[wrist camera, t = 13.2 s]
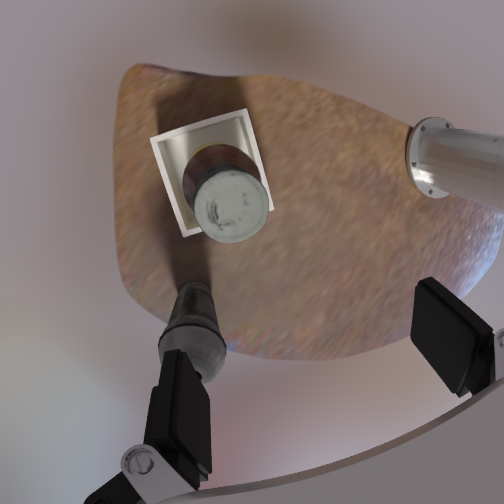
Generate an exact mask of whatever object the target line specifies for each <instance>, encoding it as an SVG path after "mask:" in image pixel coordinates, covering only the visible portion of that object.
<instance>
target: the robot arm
mask: <svg viewBox="0 0 504 504" xmlns="http://www.w3.org/2000/svg"><path fill="white" fill-rule="evenodd" d="M406 162H407V168H408V172H409V175H410V178H411V180H412V182H413V184H414V185H415V187H416V188H417V189H418V190H419V191H420V192H421V193H423V194H424V195H426V196H429V197H432V198H442V197H445V196H447V195H449V194H453V195H456V196H459V197H461V198H464V199H467V200H469V201H472V202H474V203H477V204H480V205H482V206H485V207H487V208H489V209H492V210H494V211H497V212H499V213H501V214H504V135H501V134H495V133H488V132H480V131H472V130H463V129H455V128H454V126H453V125H452V124H451V123H449V122H448V121H446V120H445V119H442V118H439V117H429V118H426V119H423V120H421V121H420V122H419V123H418V124H417V125H416V126H415V127H414V128H413V130H412V132H411V134H410V137H409V140H408V143H407V149H406ZM492 331H493V329H492V328H491V327H490V326H489V325H488V324H487V323H486V322H485V321H484V320H483V319H481V318H480V317H479V316H478V315H477V314H476V313H475V312H474V311H472V310H471V309H470V308H469V307H468V306H467V305H466V304H464V303H463V302H462V301H461V300H460V299H459V298H457V297H456V296H455V295H454V294H453V293H451V292H450V291H449V290H448V289H447V288H445V287H444V286H443V285H442V284H440V283H439V282H438V281H437V280H435V279H434V278H433V277H428V278H425V279H423V280H420V281H419V282H418V285H417V286H416V287H415V297H414V308H413V317H412V326H411V334H410V336H411V340H412V342H413V344H414V345H415V346H416V347H417V348H418V350H419V351H420V352H421V353H422V355H423V356H424V357H425V359H426V360H427V361H428V362H429V364H430V365H431V366H432V367H433V369H434V370H435V371H436V373H437V374H438V375H439V376H440V378H441V379H442V380H443V382H444V383H445V384H446V386H447V387H448V388H449V390H450V391H451V392H452V393H456V394H457V396H458V397H459V398H460V397H462V396H464V395H465V394H467V393H468V392H469V391H470V392H471V393H472V397H471V398H470V399H468V400H466V401H465V402H463V403H462V404H460V405H458V406H457V407H455V408H454V409H452V410H450V411H448V412H447V413H445V414H443V415H441V416H440V417H438V418H436V419H434V420H432V421H430V422H428V423H427V424H425V425H423V426H421V427H419V428H417V429H415V430H413V431H411V432H409V433H407V434H404V435H402V436H400V437H398V438H396V439H394V440H391V441H389V442H387V443H384V444H382V445H380V446H377V447H375V448H372V449H370V450H367V451H365V452H362V453H359V454H357V455H354V456H351V457H348V458H345V459H342V460H339V461H336V462H333V463H330V464H326V465H323V466H320V467H316V468H313V469H310V470H305V471H302V472H298V473H294V474H289V475H285V476H281V477H277V478H272V479H266V480H262V481H256V482H250V483H245V484H238V485H232V486H224V487H218V488H212V489H205V490H198V488H199V487H200V481H208V474H211V473H212V456H211V425H210V399H209V396H208V394H207V392H206V390H205V388H204V386H203V384H202V382H201V380H200V379H199V377H198V375H197V373H196V371H195V369H194V367H193V365H192V363H191V361H190V359H189V357H188V355H187V353H186V352H185V351H184V352H182V351H181V350H180V349H174V350H169V351H165V352H164V356H163V361H162V367H161V372H160V378H159V384H158V386H155V387H153V389H152V393H151V398H150V404H149V410H148V416H147V423H146V429H145V435H144V442H143V444H140V445H135V446H133V447H131V448H129V449H128V450H127V451H126V452H125V453H124V455H123V456H122V459H121V469H122V471H121V472H120V473H119V474H117V475H116V476H115V477H114V478H112V479H111V480H109V481H108V482H107V483H106V484H104V485H103V486H102V487H100V488H99V489H98V490H96V491H95V492H93V493H92V494H91V495H89V496H88V498H86V500H85V502H84V504H504V328H503V329H500V330H499V331H497V332H496V334H495V335H494V334H493V333H492Z"/></svg>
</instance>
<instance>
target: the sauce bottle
mask: <svg viewBox="0 0 504 504" xmlns="http://www.w3.org/2000/svg"><path fill="white" fill-rule="evenodd" d="M182 188H183V194H184V197H185V200H186V202H187V204H188V206H189V207H190V208H191V210H192V211H193V212H194V216H195V219H196V222H197V223H198V225H199V227H200V228H201V230H202V231H203V232H204V233H205V234H206V235H208V236H209V237H211V238H212V239H214V240H216V241H218V242H222V243H237V242H241V241H245V240H247V239H249V238H251V237H252V236H253V235H255V234H256V233H257V232H258V231H259V230H260V229H261V228H262V226H263V224H264V223H265V222H266V220H267V217H268V213H269V198H268V194H267V191H266V188H265V187H264V186H263V184H262V179H261V175H260V172H259V169H258V166H257V165H256V164H255V162H254V161H253V160H252V159H251V158H250V157H249V156H248V155H247V154H246V153H244V152H243V151H242V150H240V149H238V148H236V147H234V146H231V145H228V144H224V143H219V142H213V143H207V144H204V145H202V146H201V147H199V148H198V149H197V150H196V151H195V152H194V153H193V154H192V155H191V157H190V159H189V161H188V163H187V165H186V167H185V170H184V173H183V180H182Z"/></svg>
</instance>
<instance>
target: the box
mask: <svg viewBox="0 0 504 504" xmlns="http://www.w3.org/2000/svg"><path fill="white" fill-rule="evenodd" d="M150 141H151V144H152V147H153V150H154V154H155V157H156V160H157V163H158V166H159V169H160V172H161V175H162V178H163V181H164V184H165V187H166V190H167V193H168V196H169V199H170V202H171V204H172V207H173V210H174V213H175V216H176V219H177V221H178V224H179V227H180V230H181V232H182V235H183V238H184V237H187V236H190V235H193V234H196V233H199V232H202V230H201V228H200V227H199V225H198V223H197V222H196V219H195V216H194V212H193V211H192V210H191V208H190V207H189V206H188V204H187V202H186V200H185V197H184V194H183V188H182V180H183V173H184V170H185V167H186V165H187V163H188V161H189V159H190V157H191V155H192V154H193V153H194V152H195V151H196V150H197V149H198V148H199V147H201V146H202V145H204V144H207V143H213V142H219V143H224V144H228V145H231V146H234V147H236V148H238V149H240V150H242V151H243V152H244V153H246V154H247V155H248V156H249V157H250V158H251V159H252V160H253V161H254V162H255V164H256V165H257V166H258V169H259V172H260V175H261V179H262V184H263V186H264V187H265V188H266V191H267V194H268V198H269V211H272V210H274V207H273V203H272V199H271V195H270V191H269V188H268V184H267V180H266V176H265V172H264V169H263V165H262V161H261V158H260V154H259V150H258V147H257V143H256V140H255V136H254V132H253V129H252V125H251V122H250V118H249V115H248V111H247V108H246V109H242V110H238V111H234V112H230V113H227V114H223V115H219V116H216V117H212V118H209V119H206V120H202V121H199V122H196V123H193V124H190V125H187V126H184V127H181V128H178V129H175V130H172V131H169V132H166V133H163V134H161V135H158V136H155V137H153V138H150Z"/></svg>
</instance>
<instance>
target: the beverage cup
mask: <svg viewBox="0 0 504 504" xmlns="http://www.w3.org/2000/svg"><path fill="white" fill-rule="evenodd" d="M158 349H159V357H160V363H161V366H162V361H163V356H164V352H165V351H169V350H174V349H180V350H181V351H182V352H184V351H185V352H186V353H187V355H188V357H189V359H190V361H191V363H192V365H193V367H194V369H195V371H196V373H197V375H198V377H199V379H200V380H201V382H202V384H203V385H205V384H207V383H209V382H211V381H212V380H213V379H214V378H216V377H217V375H218V374H219V373H220V371H221V369H222V367H223V365H224V362H225V356H226V344H225V342H224V339H223V338H222V336H221V333H220V331H219V326H218V322H217V317H216V312H215V307H214V302H213V298H212V295H211V291H210V289H209V288H208V287H207V286H206V285H205V284H203V283H201V282H189V283H186V284H185V285H183V287H182V288H181V289H180V292H179V294H178V296H177V299H176V302H175V305H174V308H173V311H172V314H171V317H170V320H169V323H168V326H167V327H166V328H165V330H164V332H163V334H162V336H161V337H160V339H159V343H158Z"/></svg>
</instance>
